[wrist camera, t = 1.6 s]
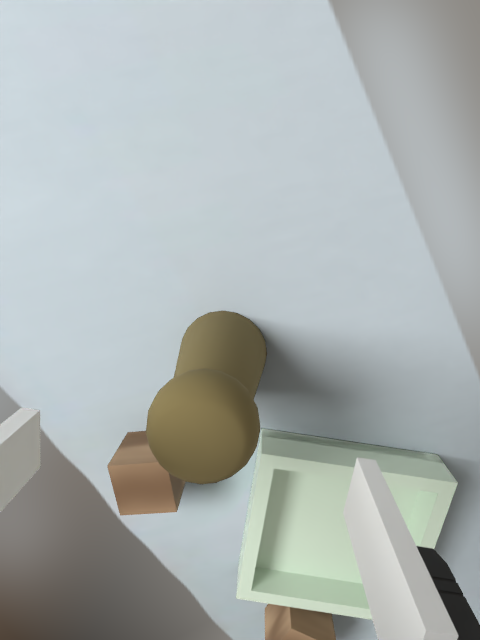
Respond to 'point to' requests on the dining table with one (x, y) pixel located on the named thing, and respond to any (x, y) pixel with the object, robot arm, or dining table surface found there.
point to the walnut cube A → (142, 479)
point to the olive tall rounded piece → (210, 401)
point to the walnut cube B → (297, 624)
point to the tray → (326, 518)
